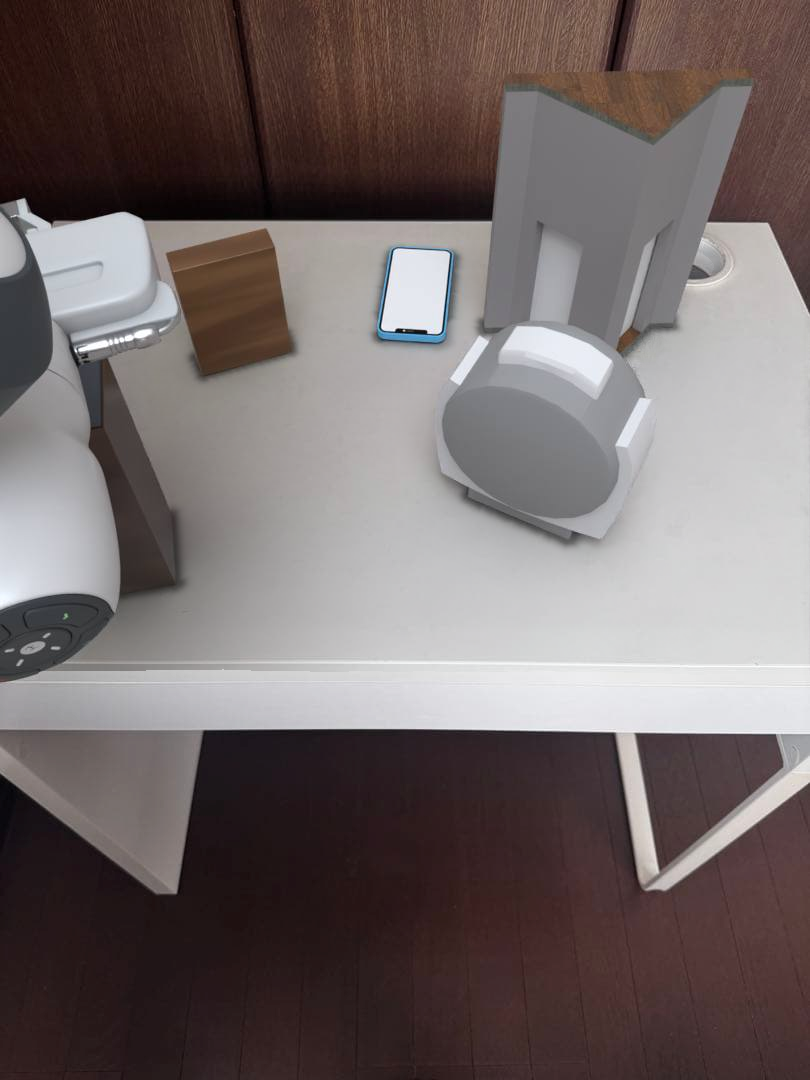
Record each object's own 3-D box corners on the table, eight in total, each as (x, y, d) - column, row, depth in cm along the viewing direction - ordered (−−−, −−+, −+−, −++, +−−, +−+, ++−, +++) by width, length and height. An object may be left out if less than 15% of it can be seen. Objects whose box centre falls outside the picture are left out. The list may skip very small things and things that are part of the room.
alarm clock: (631, 502, 84) (687, 351, 67) (599, 569, 80) (650, 426, 63) (464, 435, 89) (476, 277, 72) (425, 495, 85) (428, 343, 68)
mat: (-11, 443, 60) (-14, 438, 60) (-4, 364, 64) (-7, 359, 64) (101, 426, 61) (99, 421, 61) (100, 349, 65) (98, 344, 65)
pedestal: (86, 599, 79) (-14, 445, 60) (87, 527, 83) (-7, 362, 64) (176, 584, 79) (104, 428, 61) (171, 513, 84) (103, 347, 65)
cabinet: (669, 317, 98) (750, 68, 74) (686, 381, 92) (780, 134, 69) (483, 322, 97) (505, 73, 74) (490, 386, 92) (516, 141, 69)
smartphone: (454, 249, 103) (444, 337, 94) (453, 257, 104) (444, 345, 95) (390, 245, 103) (376, 333, 95) (391, 253, 104) (376, 341, 96)
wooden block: (292, 352, 95) (275, 246, 83) (202, 376, 93) (172, 272, 82) (284, 333, 97) (266, 227, 85) (196, 357, 95) (165, 252, 83)
